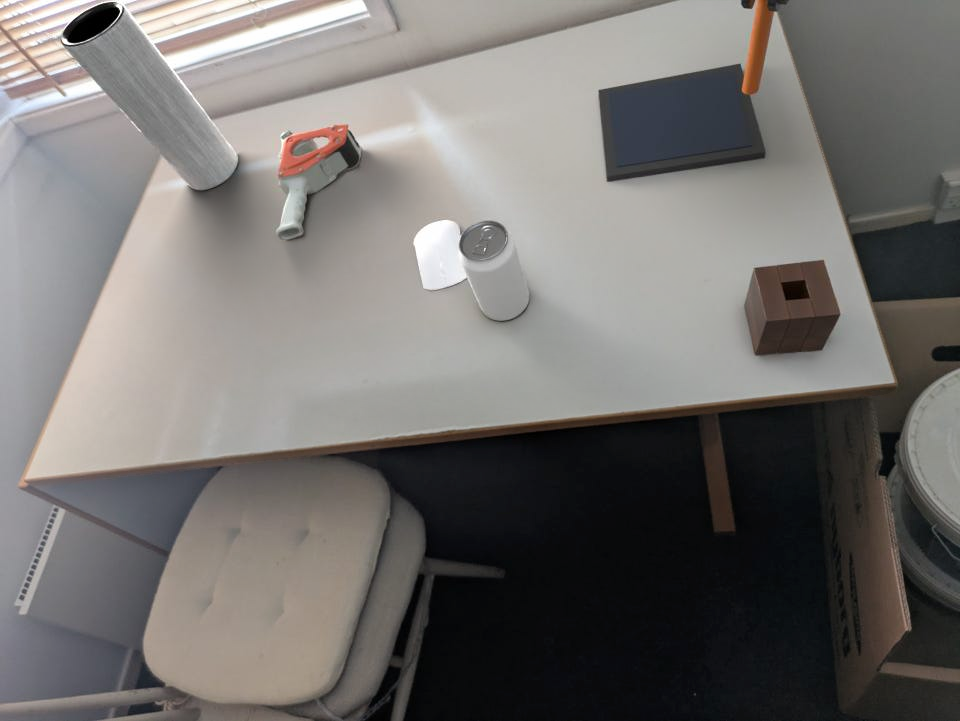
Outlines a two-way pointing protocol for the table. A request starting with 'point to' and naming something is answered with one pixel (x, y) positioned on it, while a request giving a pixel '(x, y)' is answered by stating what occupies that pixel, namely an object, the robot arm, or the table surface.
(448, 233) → the computer mouse
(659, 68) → the table surface
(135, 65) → the vase
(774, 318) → the pen holder
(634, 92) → the tablet
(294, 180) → the tape dispenser
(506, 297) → the can
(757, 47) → the stylus
